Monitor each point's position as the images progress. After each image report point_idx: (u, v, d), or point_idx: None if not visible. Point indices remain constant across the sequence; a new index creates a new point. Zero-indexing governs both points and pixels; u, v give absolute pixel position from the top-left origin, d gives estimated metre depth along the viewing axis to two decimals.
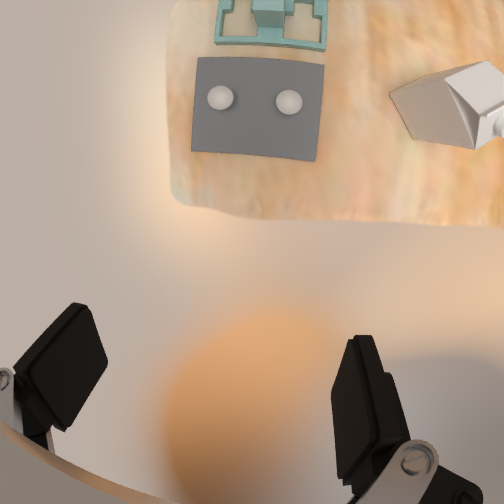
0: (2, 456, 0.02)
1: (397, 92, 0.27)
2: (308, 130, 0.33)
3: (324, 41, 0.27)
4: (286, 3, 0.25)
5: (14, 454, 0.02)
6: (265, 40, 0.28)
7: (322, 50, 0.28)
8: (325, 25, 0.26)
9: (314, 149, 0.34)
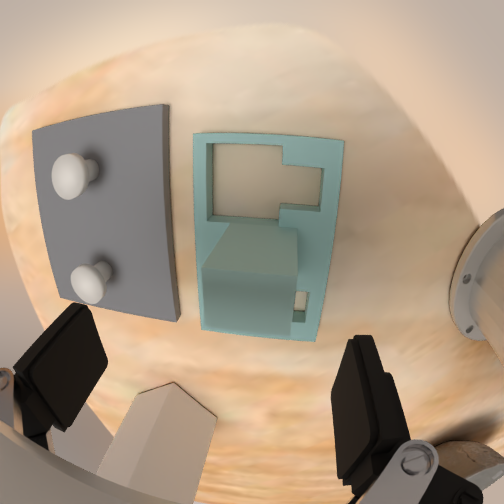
0: (2, 456, 0.02)
1: (162, 404, 0.24)
2: None
3: (215, 330, 0.21)
4: None
5: (14, 454, 0.02)
6: (199, 237, 0.18)
7: None
8: (248, 333, 0.21)
9: (70, 298, 0.23)
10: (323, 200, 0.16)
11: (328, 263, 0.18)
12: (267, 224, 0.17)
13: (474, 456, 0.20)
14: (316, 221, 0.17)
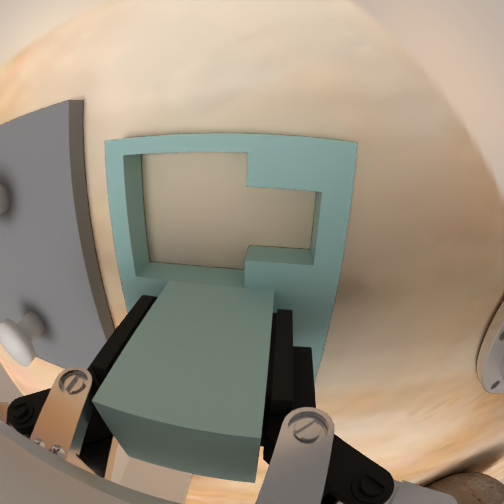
0: (2, 456, 0.02)
1: (126, 464, 0.17)
2: None
3: None
4: None
5: (14, 454, 0.02)
6: (130, 298, 0.11)
7: None
8: None
9: None
10: (319, 246, 0.10)
11: (324, 337, 0.11)
12: (227, 283, 0.11)
13: (480, 494, 0.14)
14: (306, 279, 0.10)
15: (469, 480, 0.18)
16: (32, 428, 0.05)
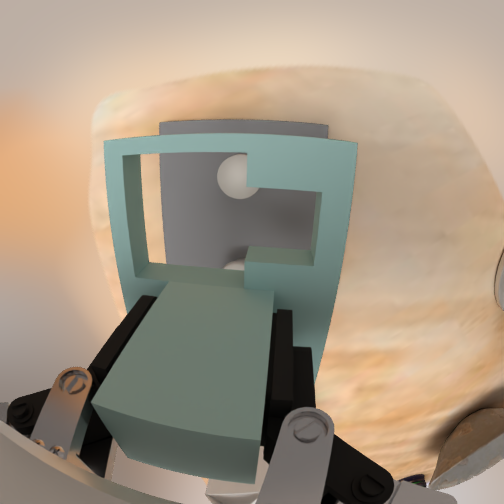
0: (2, 456, 0.02)
1: None
2: None
3: None
4: None
5: (14, 454, 0.02)
6: (129, 298, 0.11)
7: None
8: None
9: None
10: (319, 247, 0.09)
11: (324, 338, 0.11)
12: (226, 283, 0.11)
13: None
14: (306, 280, 0.10)
15: (495, 409, 0.28)
16: (32, 428, 0.05)
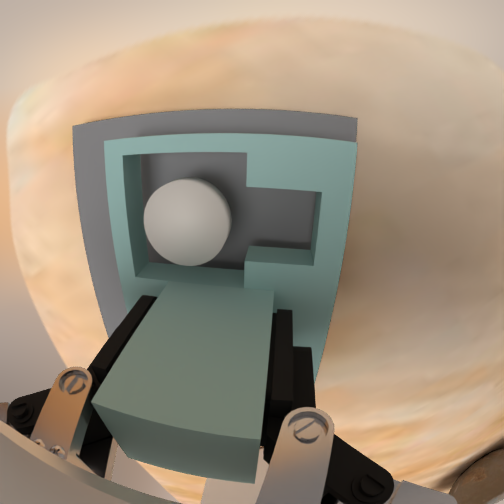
0: (2, 456, 0.02)
1: (264, 475, 0.18)
2: None
3: None
4: None
5: (14, 454, 0.02)
6: (129, 298, 0.11)
7: None
8: None
9: None
10: (319, 247, 0.09)
11: (324, 338, 0.11)
12: (226, 283, 0.11)
13: None
14: (306, 280, 0.10)
15: None
16: (32, 428, 0.05)
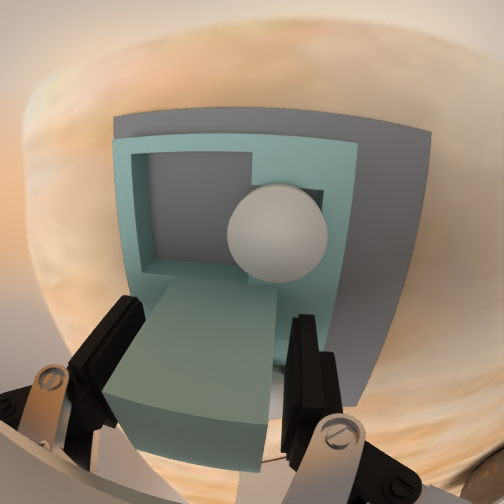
0: (2, 456, 0.02)
1: None
2: None
3: None
4: (275, 350, 0.12)
5: (14, 454, 0.02)
6: (136, 293, 0.12)
7: None
8: None
9: None
10: None
11: (325, 332, 0.11)
12: (231, 278, 0.11)
13: None
14: (309, 275, 0.10)
15: None
16: (15, 422, 0.05)
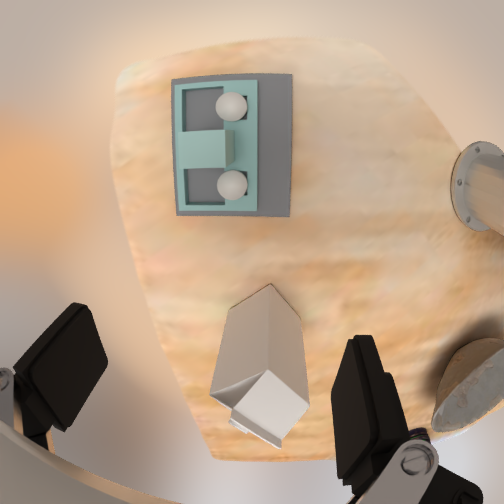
0: (2, 456, 0.02)
1: (268, 297, 0.34)
2: None
3: (188, 209, 0.31)
4: (236, 162, 0.28)
5: (14, 454, 0.02)
6: (178, 143, 0.28)
7: None
8: (210, 208, 0.31)
9: (189, 213, 0.32)
10: (248, 112, 0.26)
11: (256, 150, 0.28)
12: None
13: (495, 341, 0.31)
14: (245, 125, 0.27)
15: None
16: None
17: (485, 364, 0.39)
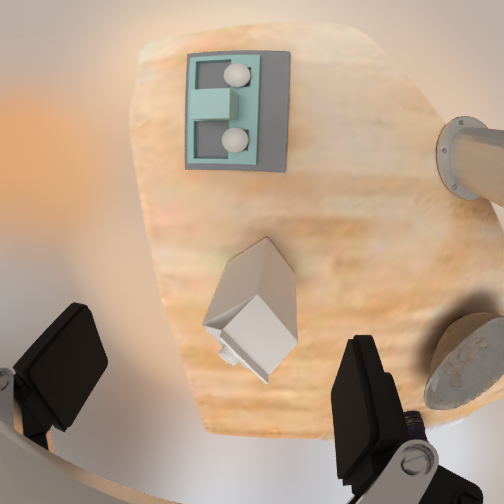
0: (2, 456, 0.02)
1: (264, 245, 0.37)
2: None
3: (195, 162, 0.34)
4: (239, 121, 0.32)
5: (14, 454, 0.02)
6: (190, 105, 0.31)
7: None
8: (215, 161, 0.34)
9: (196, 167, 0.36)
10: (251, 81, 0.29)
11: (256, 112, 0.31)
12: None
13: (487, 313, 0.34)
14: (248, 91, 0.30)
15: None
16: None
17: (479, 343, 0.41)
